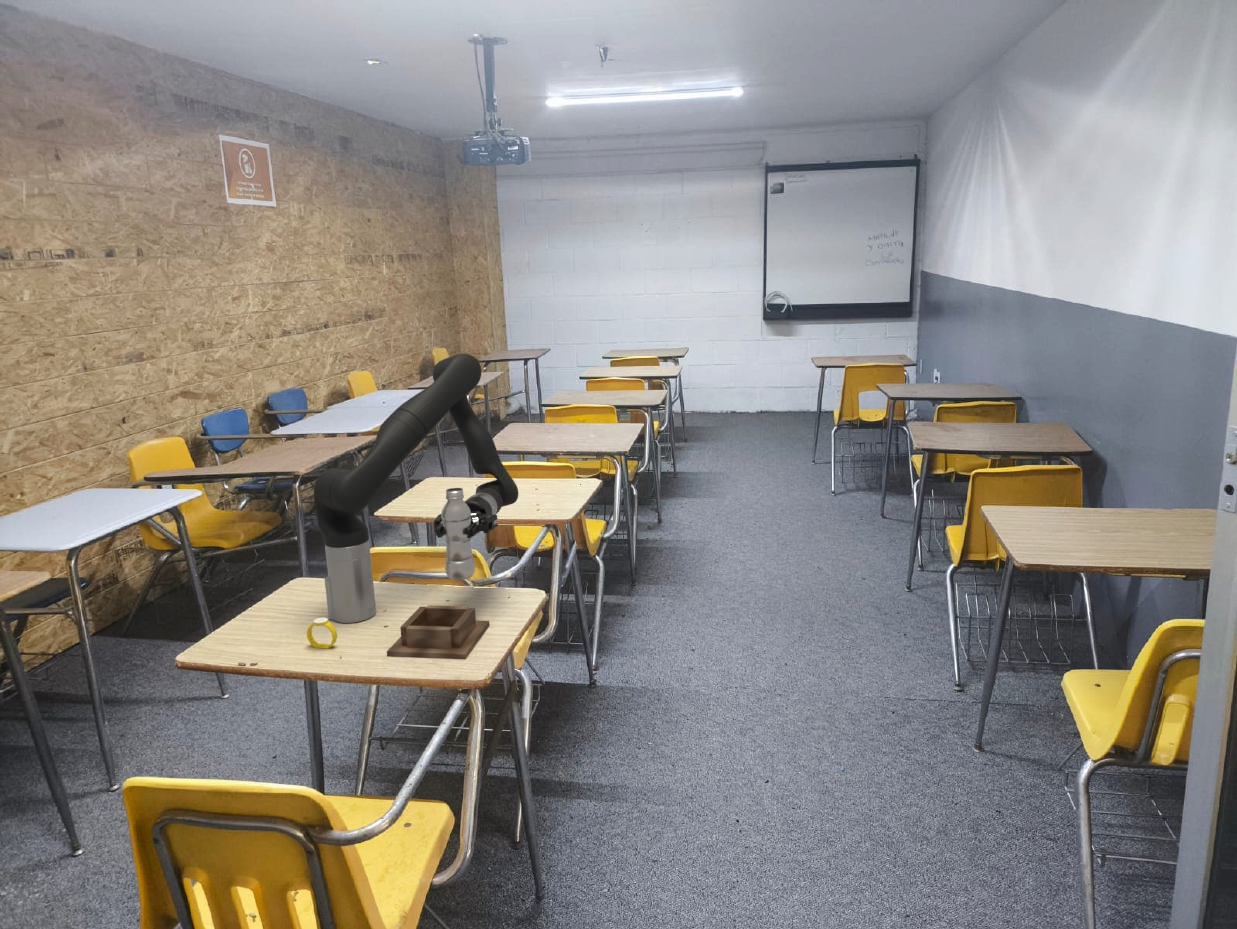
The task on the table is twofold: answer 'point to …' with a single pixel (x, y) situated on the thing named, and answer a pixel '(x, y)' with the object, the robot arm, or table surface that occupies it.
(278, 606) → the table surface
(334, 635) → the watch
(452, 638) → the bottle rack
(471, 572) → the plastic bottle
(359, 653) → the table surface
